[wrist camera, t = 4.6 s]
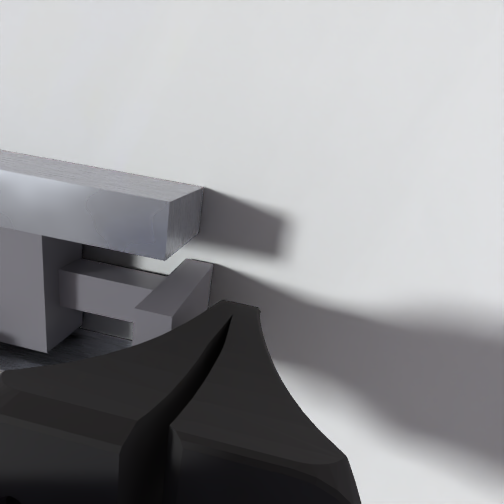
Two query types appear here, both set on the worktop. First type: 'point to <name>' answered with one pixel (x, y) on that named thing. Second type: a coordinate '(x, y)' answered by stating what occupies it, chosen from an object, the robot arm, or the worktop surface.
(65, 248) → the grey hook
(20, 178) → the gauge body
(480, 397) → the worktop surface
